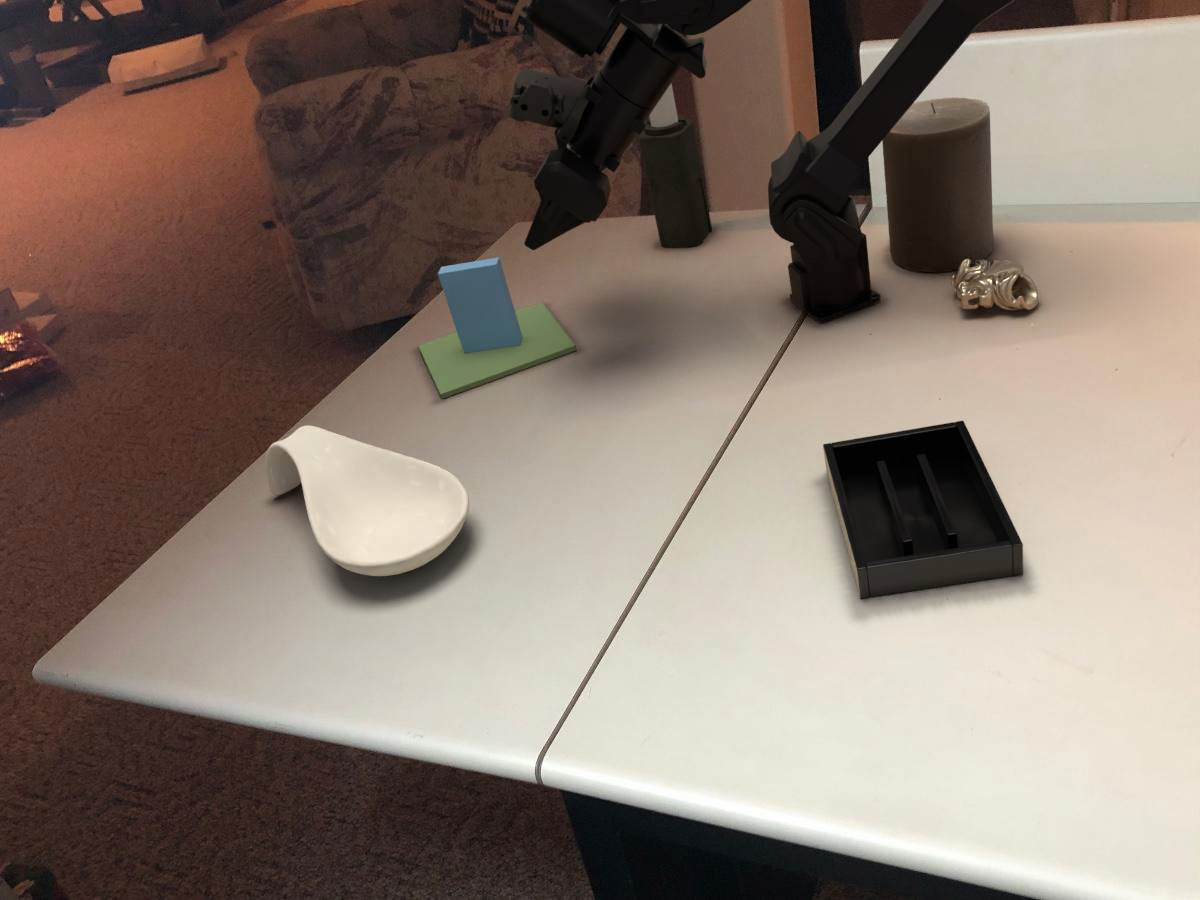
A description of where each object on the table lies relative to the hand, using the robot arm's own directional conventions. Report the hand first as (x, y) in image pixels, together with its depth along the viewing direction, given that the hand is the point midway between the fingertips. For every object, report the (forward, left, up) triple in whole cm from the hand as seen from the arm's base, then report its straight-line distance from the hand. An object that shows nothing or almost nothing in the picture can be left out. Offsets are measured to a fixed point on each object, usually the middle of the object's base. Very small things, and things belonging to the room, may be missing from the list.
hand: (536, 226), depth 102 cm
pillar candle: (-37, +9, -12) cm, 40 cm away
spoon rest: (+24, +19, -12) cm, 33 cm away
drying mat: (+7, -3, -12) cm, 15 cm away
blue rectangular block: (+7, -3, -12) cm, 14 cm away
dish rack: (-12, +44, -12) cm, 47 cm away
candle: (-19, -14, -12) cm, 27 cm away
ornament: (-34, +21, -12) cm, 42 cm away
